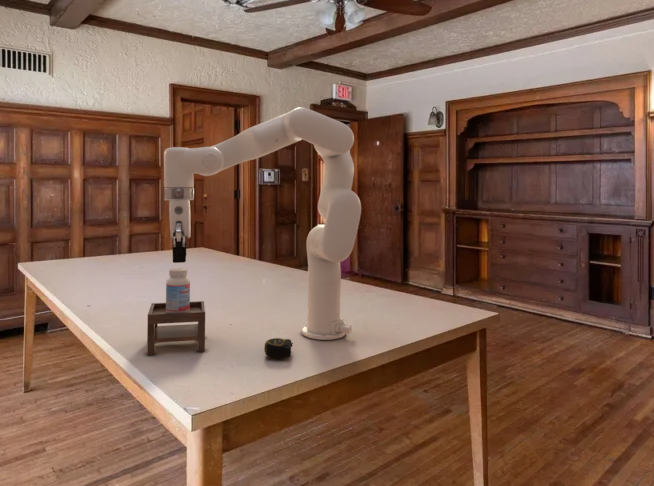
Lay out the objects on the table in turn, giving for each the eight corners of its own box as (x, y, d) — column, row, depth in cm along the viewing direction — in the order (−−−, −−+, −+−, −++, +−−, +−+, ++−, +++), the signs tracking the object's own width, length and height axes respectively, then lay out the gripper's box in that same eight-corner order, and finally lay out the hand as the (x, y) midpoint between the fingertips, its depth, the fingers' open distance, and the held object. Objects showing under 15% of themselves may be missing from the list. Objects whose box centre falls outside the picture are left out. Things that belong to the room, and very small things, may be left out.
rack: (203, 337, 130) (204, 301, 130) (204, 351, 118) (205, 312, 118) (151, 340, 127) (151, 303, 127) (147, 355, 115) (147, 314, 115)
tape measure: (290, 362, 112) (291, 346, 112) (262, 360, 113) (262, 345, 113) (292, 352, 119) (293, 337, 119) (266, 351, 120) (266, 336, 119)
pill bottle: (183, 315, 119) (183, 272, 119) (161, 314, 120) (161, 270, 120) (193, 309, 125) (194, 268, 125) (172, 308, 126) (173, 267, 126)
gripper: (193, 195, 114) (194, 264, 115) (193, 194, 131) (194, 254, 132) (162, 195, 113) (163, 265, 113) (166, 194, 130) (166, 255, 130)
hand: (179, 259), depth 122 cm, fingers open, 9 cm apart
